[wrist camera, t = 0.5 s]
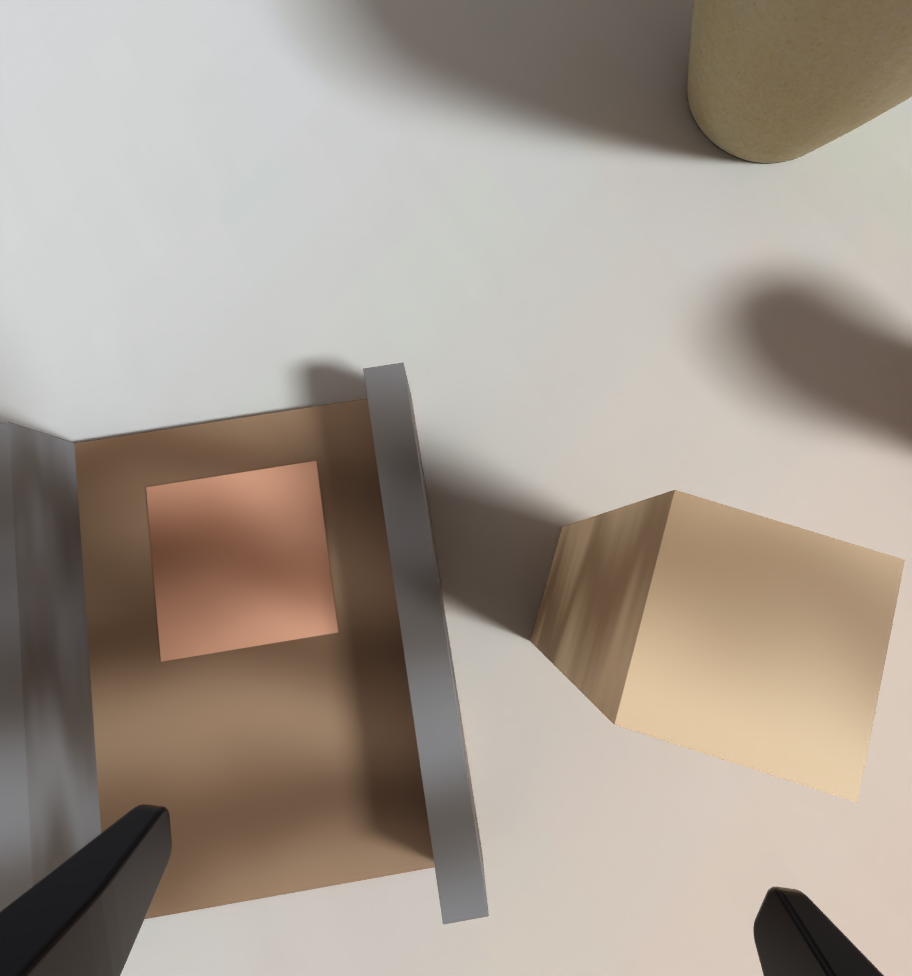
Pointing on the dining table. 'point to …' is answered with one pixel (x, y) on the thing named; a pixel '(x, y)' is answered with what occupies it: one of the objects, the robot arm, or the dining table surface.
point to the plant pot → (795, 71)
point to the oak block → (725, 634)
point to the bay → (233, 655)
